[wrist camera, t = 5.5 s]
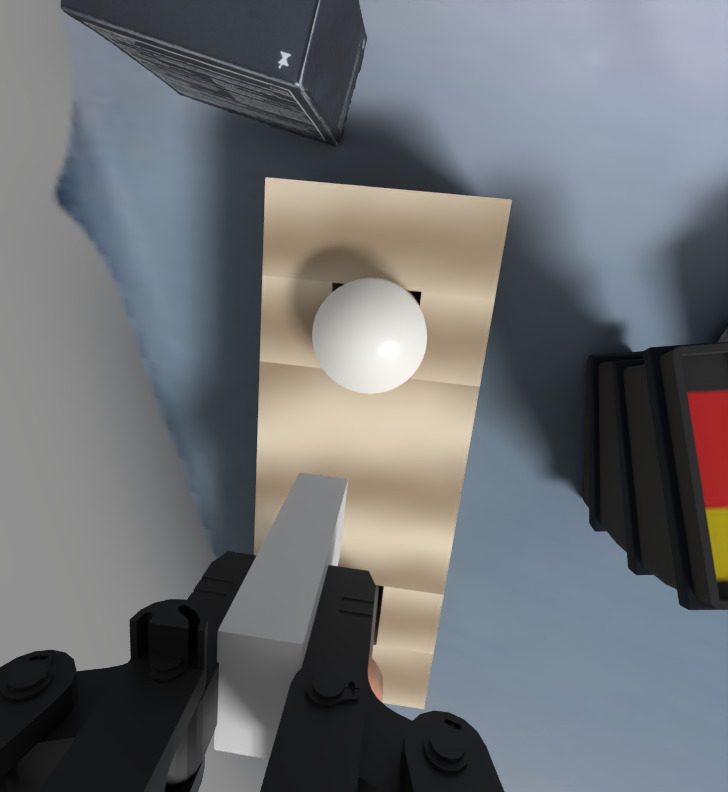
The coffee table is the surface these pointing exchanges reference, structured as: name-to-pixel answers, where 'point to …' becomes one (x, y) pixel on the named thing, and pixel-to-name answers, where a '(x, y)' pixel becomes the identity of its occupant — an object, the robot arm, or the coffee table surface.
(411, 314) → the pale plunger
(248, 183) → the coffee table surface
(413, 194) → the block
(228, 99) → the small box
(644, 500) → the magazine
